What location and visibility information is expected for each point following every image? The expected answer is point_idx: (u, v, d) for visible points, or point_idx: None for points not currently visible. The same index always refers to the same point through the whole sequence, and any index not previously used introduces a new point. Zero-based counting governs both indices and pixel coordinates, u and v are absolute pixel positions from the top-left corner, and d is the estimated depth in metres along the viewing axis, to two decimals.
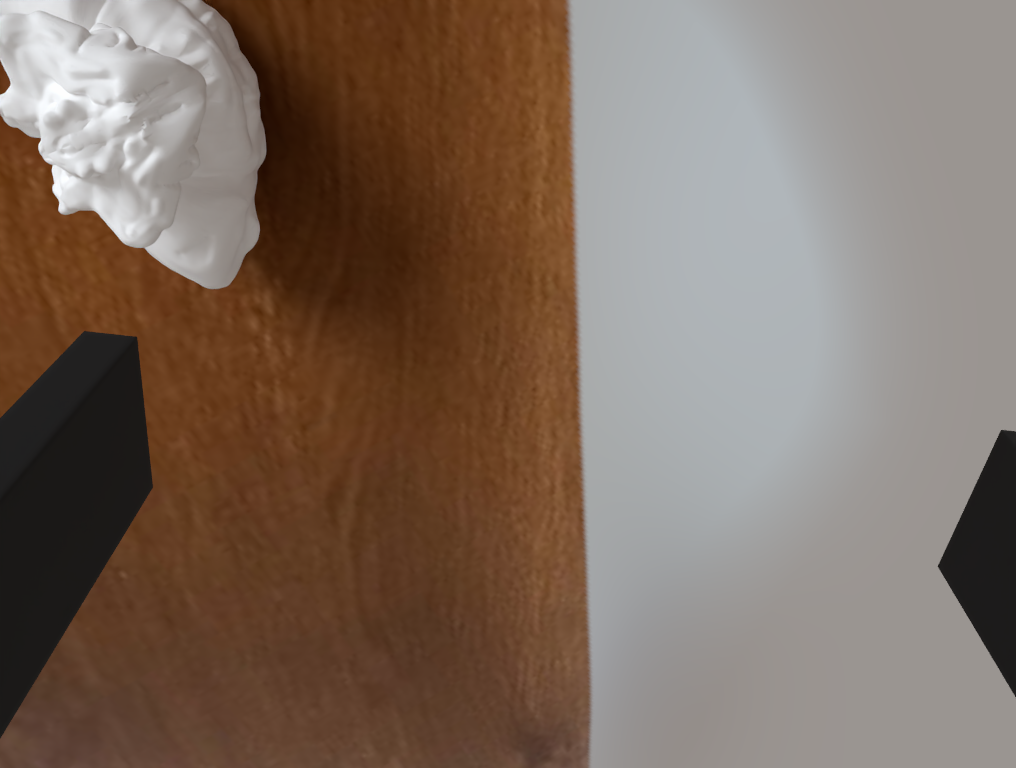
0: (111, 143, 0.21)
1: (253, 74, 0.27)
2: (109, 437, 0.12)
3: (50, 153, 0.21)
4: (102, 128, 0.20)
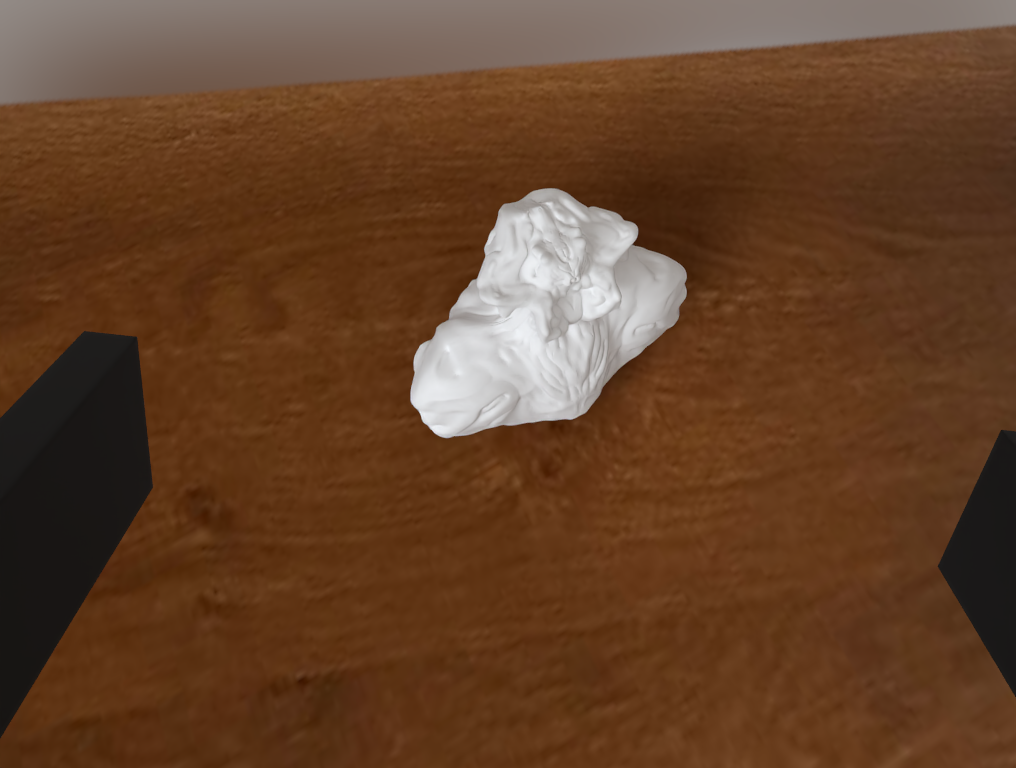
0: (559, 226, 0.29)
1: None
2: (109, 437, 0.12)
3: (571, 269, 0.29)
4: (549, 230, 0.29)
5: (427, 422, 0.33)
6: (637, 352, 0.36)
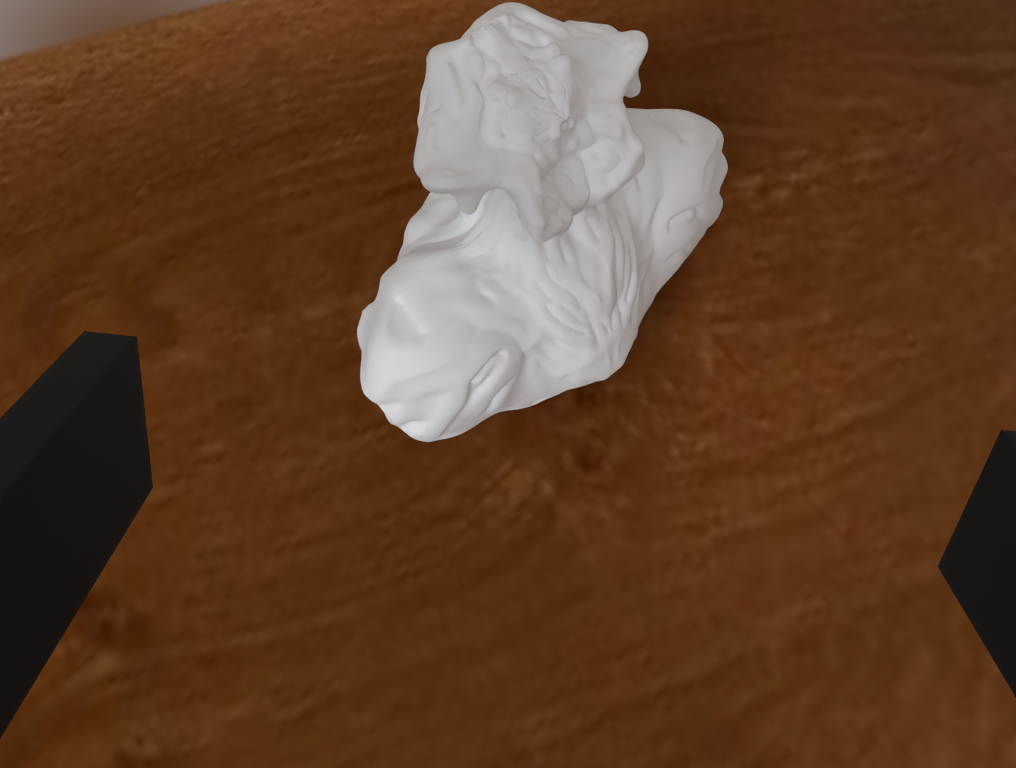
0: (524, 49, 0.18)
1: None
2: (109, 437, 0.12)
3: (557, 107, 0.18)
4: (509, 56, 0.18)
5: (395, 420, 0.22)
6: (677, 262, 0.25)
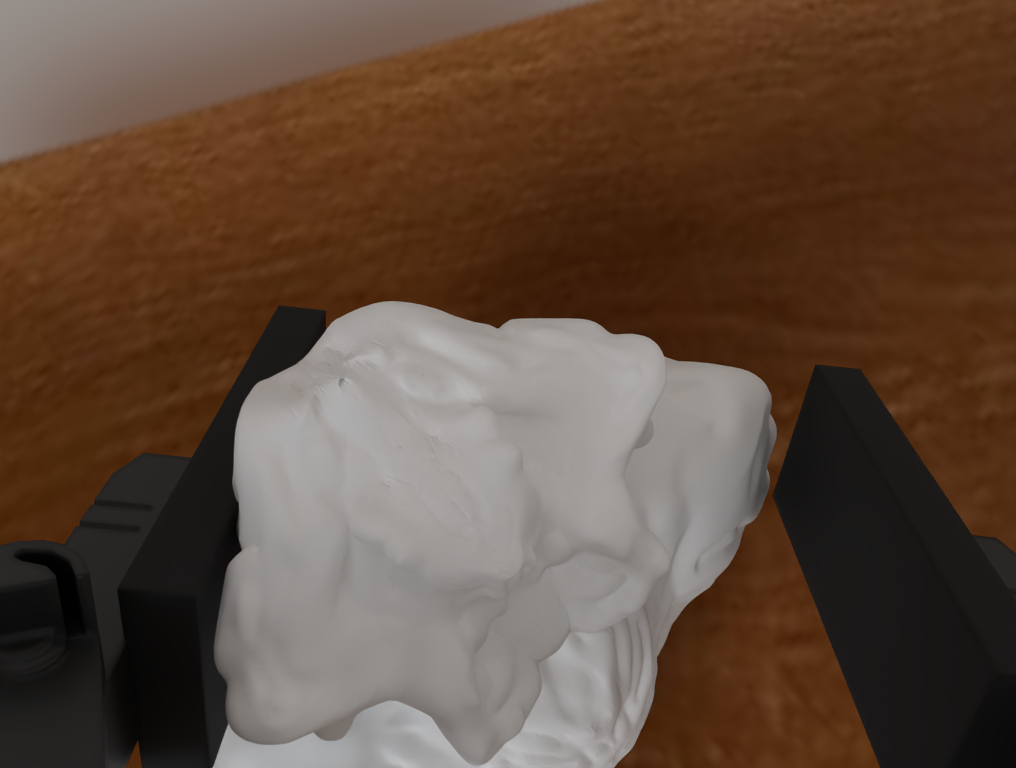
0: (423, 420, 0.09)
1: None
2: None
3: (496, 550, 0.09)
4: (393, 442, 0.09)
5: None
6: (707, 588, 0.16)
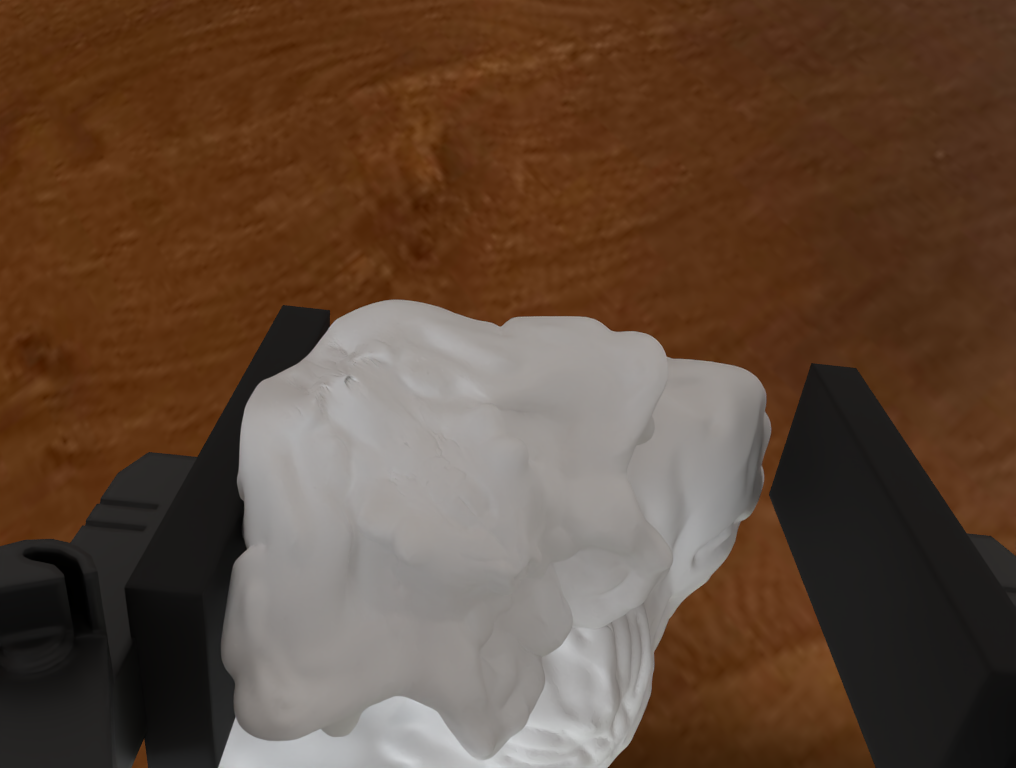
0: (429, 418, 0.09)
1: None
2: None
3: (503, 546, 0.09)
4: (399, 439, 0.09)
5: None
6: (704, 583, 0.16)
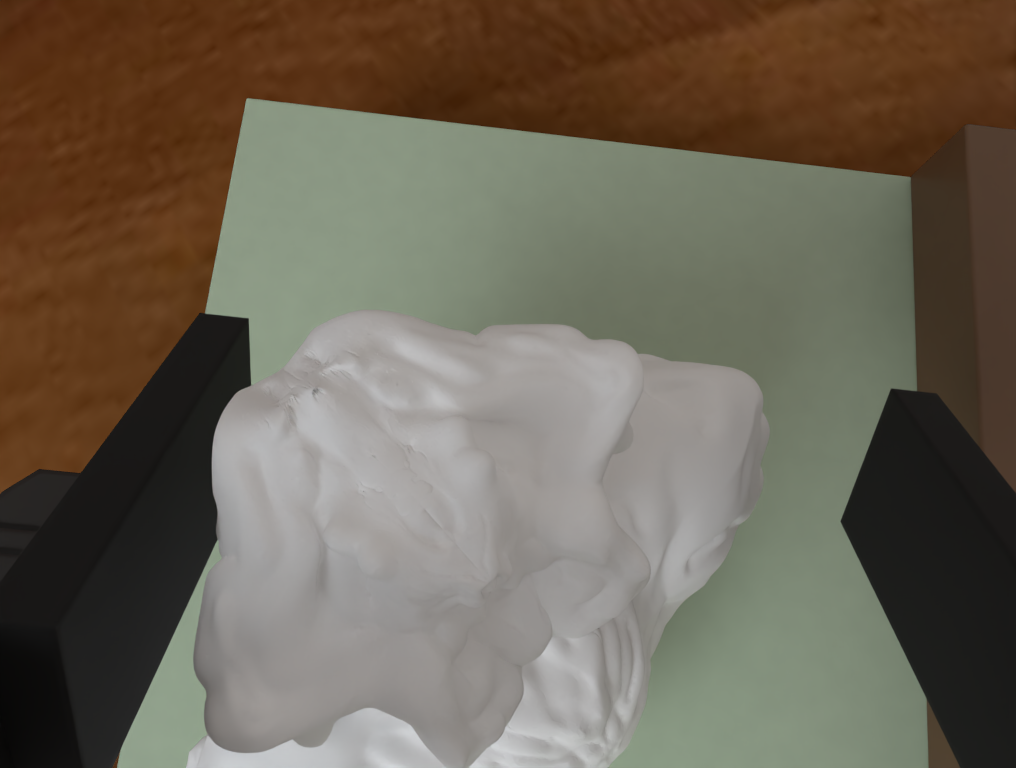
0: (397, 430, 0.09)
1: None
2: None
3: (470, 559, 0.09)
4: (367, 451, 0.09)
5: None
6: (701, 587, 0.15)
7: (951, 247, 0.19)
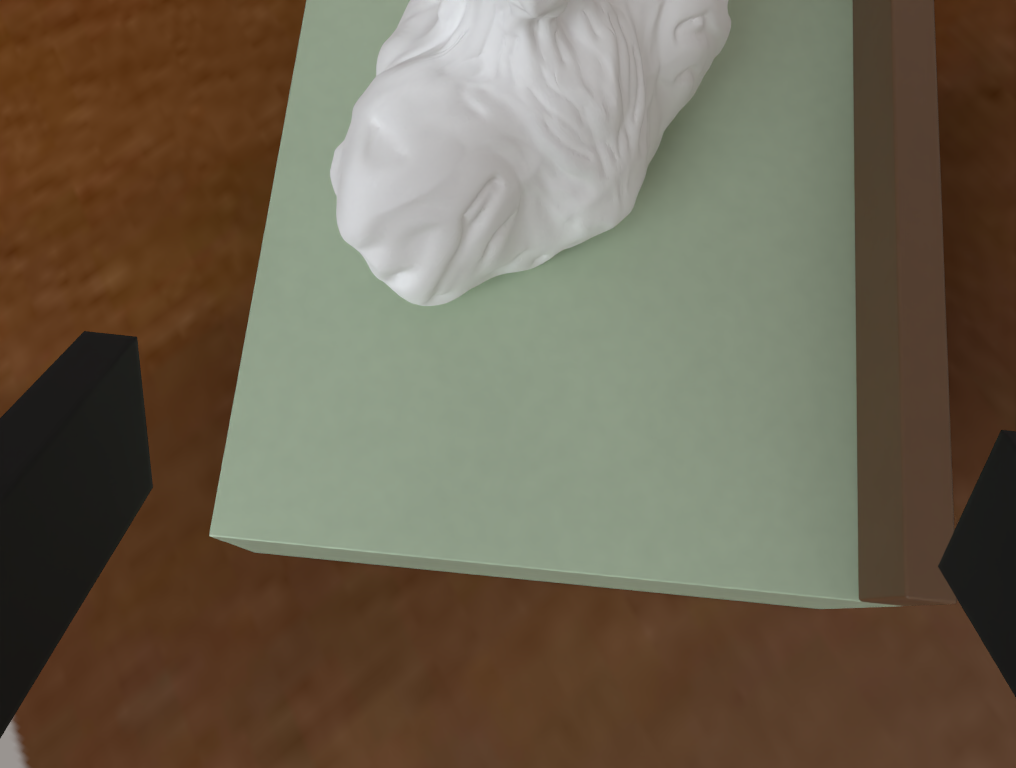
0: None
1: None
2: (109, 437, 0.12)
3: None
4: None
5: (380, 267, 0.19)
6: (685, 87, 0.22)
7: None
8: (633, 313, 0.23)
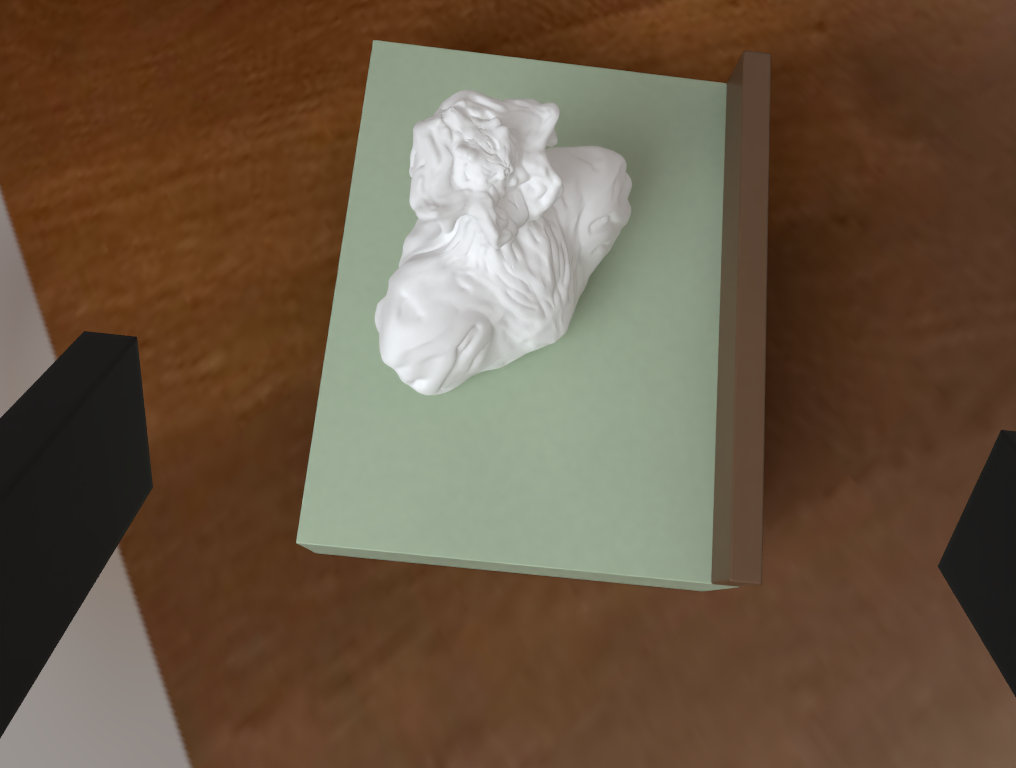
0: (477, 122, 0.27)
1: None
2: (109, 437, 0.12)
3: (501, 159, 0.27)
4: (467, 128, 0.27)
5: (406, 378, 0.31)
6: (600, 254, 0.34)
7: (736, 113, 0.37)
8: (569, 395, 0.36)
